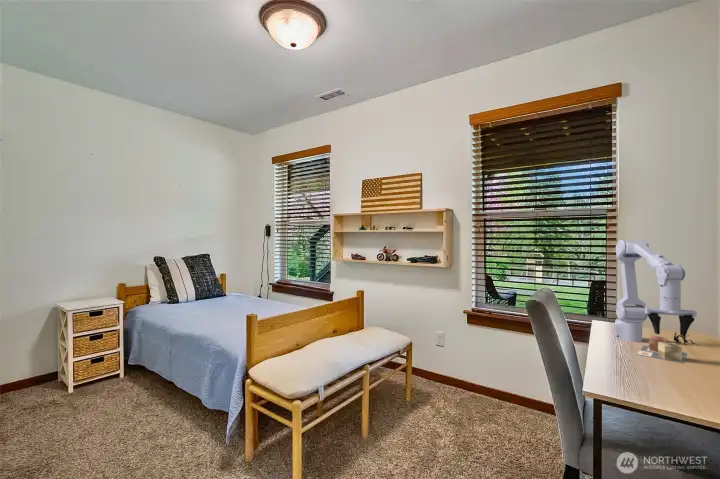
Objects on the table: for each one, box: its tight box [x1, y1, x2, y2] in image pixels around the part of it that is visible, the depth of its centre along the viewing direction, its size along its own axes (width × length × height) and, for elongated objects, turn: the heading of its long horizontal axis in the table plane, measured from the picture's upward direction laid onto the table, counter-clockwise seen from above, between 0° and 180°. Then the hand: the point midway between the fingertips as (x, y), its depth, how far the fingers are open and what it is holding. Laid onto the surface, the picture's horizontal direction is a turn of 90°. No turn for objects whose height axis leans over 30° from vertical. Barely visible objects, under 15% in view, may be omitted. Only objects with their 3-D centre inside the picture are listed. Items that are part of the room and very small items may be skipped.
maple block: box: [658, 342, 683, 361], centre depth 127 cm, size 5×5×5 cm
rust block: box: [648, 334, 669, 352], centre depth 135 cm, size 5×5×5 cm
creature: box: [673, 331, 698, 347], centre depth 145 cm, size 8×5×8 cm
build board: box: [636, 345, 688, 365], centre depth 131 cm, size 13×16×1 cm
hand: (669, 334), depth 127 cm, fingers open, 7 cm apart
